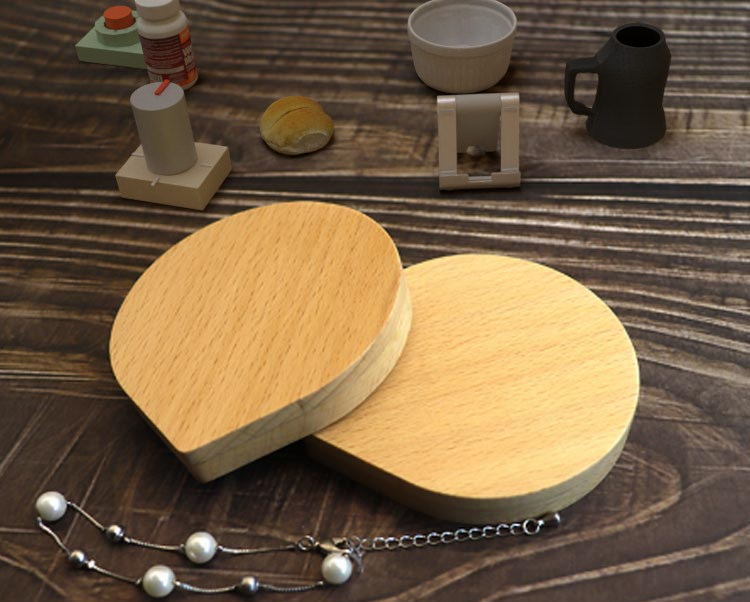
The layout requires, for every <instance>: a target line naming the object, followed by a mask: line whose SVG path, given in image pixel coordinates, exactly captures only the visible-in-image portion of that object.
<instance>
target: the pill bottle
mask: <svg viewBox="0 0 750 602" xmlns="http://www.w3.org/2000/svg"><path fill="white" fill-rule="evenodd" d="M134 4H135V5H134V6H135V9H136V10H135V11H137V14H138V15H139V19H138V21H137V30H138V35H139V38H140V43H141V47H142V50H143V55H144V59H145V63H146V67H147V69H146V70H147V75H148V80H149V84H151V83H155V82H164V80H165V79H166V80H170V83H174V84H177V85H179V86H180V87H181V88H182V89H183V91H185V90H188V89H190V88H191V87H192V86H194V85H195V84H196V82H197V81H198V79H199V72H198V67H197V62H196V57H195V53H194V48H193V43H192V38H191V33H190V27H189V23H188V18H187V16H186V14H185V13H184V12H183V11H182V10H181V5H180V1H179V0H134Z"/></svg>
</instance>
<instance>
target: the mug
mask: <svg viewBox="0 0 750 602" xmlns="http://www.w3.org/2000/svg"><path fill="white" fill-rule="evenodd" d="M671 61H672V53H671V50H670V48H669V46H668V44H667V39H666V34H665V32H664V31H663V30H662V29H661V28H659V27H658V26H656V25H653V24H650V23H645V22H627V23H624V24H621V25H618V26H617V27H616V28H614V29H613V31H612V33H611V34H610V37H609V38H608V40H607V41H606V42H605V44H604V45H603V46H602V47H600V49H599V50H598V51H597V52H596V53H595V55H593V56H589V57H588V56H587V57H579V58H575V59H570V60H568V61H567V62H566V63H565V67H564V68H565V69H564V84H563V85H564V86H563V95H564V99H565V102H566V103H567V104H566V105H567V107H568V108H569V110H570V111H571V113H572V114H574V115H577V116H585V117H586V120H585V130H586V132H587V134H588V135H589V136H590V137H591V138H592V139H594V140H595V141H597V142H598V143H600V144H602V145H605V146H608V147H612V148H616V149H617V148H618V149H626V150H627V149H633V150H634V149H641V148H645V147H646V148H647V147H650V146H652V145H654V144H656V143H658V142H659V141H660V140H661V139H663V138H664V137H665V134H666V131H667V121H666V113H665V108H664V106H663V102H664V96H665V91H666V86H667V83H668V78H669V74H670V67H671V63H672V62H671ZM580 73H581V74H585V73H587V74H588V73H590V74H597V87H596V90H595V91H596V92H595V97H594V101H593V103H592V106H591V107H590V106H587V105H585V104H584V103H582V102H579V101H577V100H576V99H575V88H576V79H577V75H578V74H580Z"/></svg>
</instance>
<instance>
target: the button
mask: <svg viewBox="0 0 750 602" xmlns="http://www.w3.org/2000/svg"><path fill="white" fill-rule="evenodd" d="M132 11H133V10H132V8H130V7H129V6H126V5H115V6H111V7H109V8H107V9H105V11H104V12H103V16H104V19H105V23H106V26H107V28H108V29H110V30H120V29H126V28H128V27H130V26H132V25H133V24H134V20H133V15H132Z"/></svg>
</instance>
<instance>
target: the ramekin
mask: <svg viewBox="0 0 750 602" xmlns="http://www.w3.org/2000/svg"><path fill="white" fill-rule="evenodd" d="M517 19H518V18H517V15H516V14H515V13H514V11H513V10H512V9H511V8H510V7H508V6H507V4H504V3H502V2H500V1H498V0H428V1H426V2H424V3H422V4H420V5H419V6H417V7H416V8H415V9H414V10H413V11H411V13H410V15H409V17H408V19H407V36H408V39H409V42H410V50H411V56H412V61H413V62H412V63H413V67H414V70H415V72H416V73H415V74H417V76H418V78H419V79H420V80H421V81H422V82H423V83H424V84H425V85H426V86H428V87H429V88H432V89H433V90H436V91H439V92H441V93H442V92H443V93H446V94H447V93H448V94H453V95H469V94H476V93H479V92H482V91H485V90H488V89H490V88H491V87H494V86H495V85H496V84H498V83H499V81H501V80H502V79H503V78H504V77H505V75H506V73H507V72H508V69H509V67H510V62H511V59H512V58H511V57H512V52H513V45H514V40H515V39H516V36H517V33H518V20H517Z"/></svg>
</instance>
